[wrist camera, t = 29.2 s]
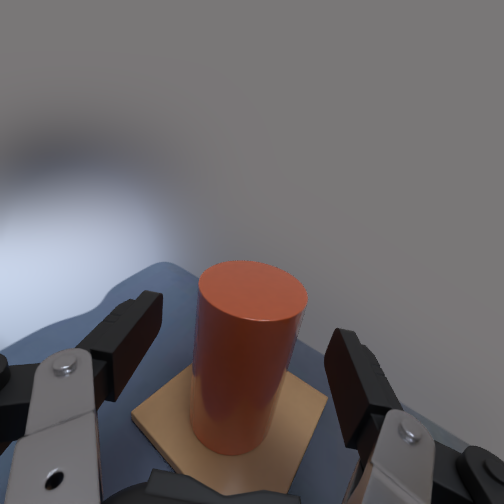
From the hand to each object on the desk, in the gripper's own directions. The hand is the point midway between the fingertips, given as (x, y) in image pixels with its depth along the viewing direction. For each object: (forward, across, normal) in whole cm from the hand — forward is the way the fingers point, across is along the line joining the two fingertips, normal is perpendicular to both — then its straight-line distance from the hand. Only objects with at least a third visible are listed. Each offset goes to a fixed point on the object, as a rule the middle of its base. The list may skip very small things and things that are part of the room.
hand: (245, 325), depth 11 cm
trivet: (+3, -1, +10) cm, 10 cm away
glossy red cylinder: (+2, 0, +9) cm, 9 cm away
